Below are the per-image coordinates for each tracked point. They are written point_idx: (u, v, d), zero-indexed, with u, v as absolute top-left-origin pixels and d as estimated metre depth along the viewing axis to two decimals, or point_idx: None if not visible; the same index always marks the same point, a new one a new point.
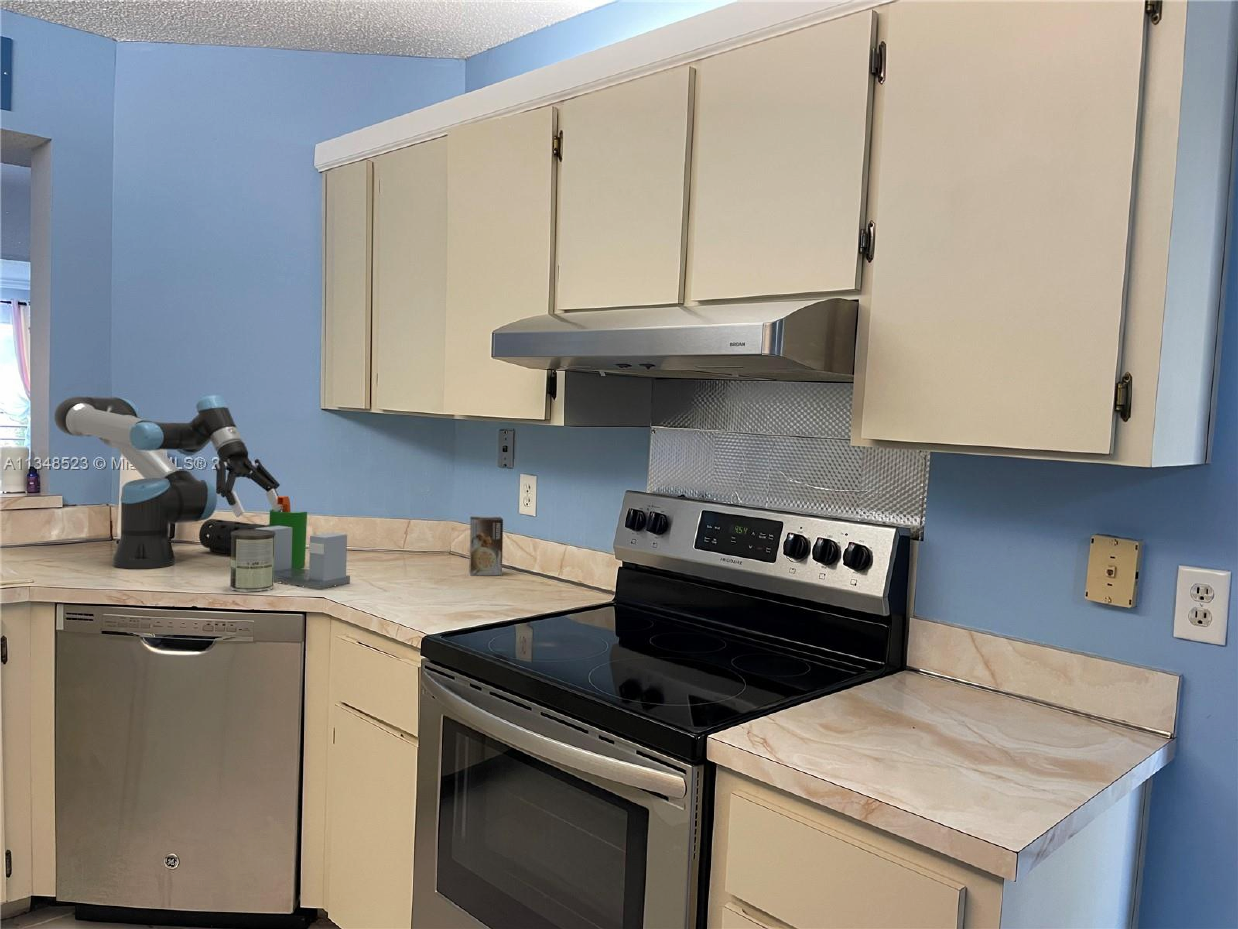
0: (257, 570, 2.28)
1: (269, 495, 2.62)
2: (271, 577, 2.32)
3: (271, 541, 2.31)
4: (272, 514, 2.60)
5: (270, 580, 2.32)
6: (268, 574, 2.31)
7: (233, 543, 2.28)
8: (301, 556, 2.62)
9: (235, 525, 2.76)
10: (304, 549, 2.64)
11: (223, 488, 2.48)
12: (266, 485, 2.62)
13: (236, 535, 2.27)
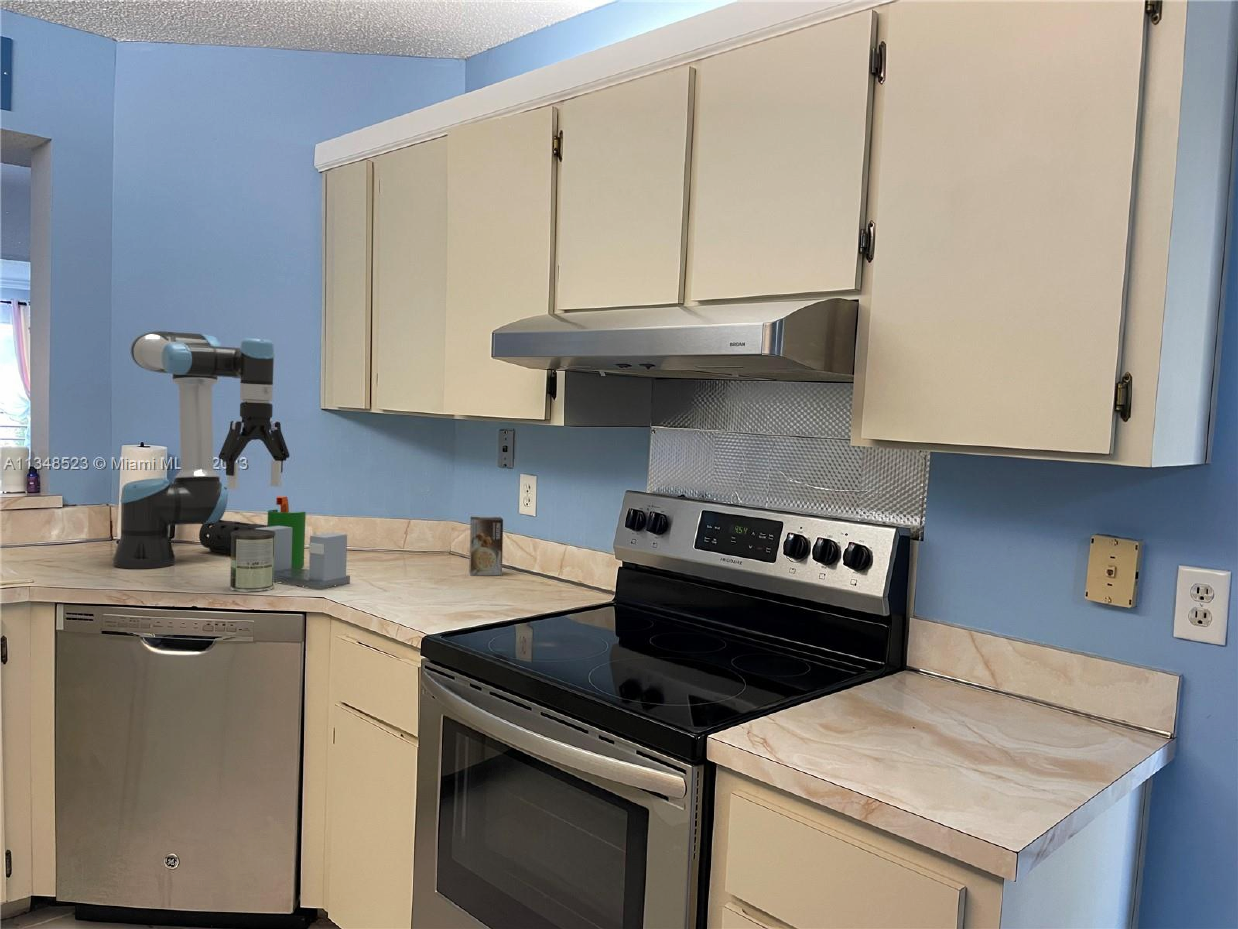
0: (257, 570, 2.28)
1: (273, 465, 2.37)
2: (271, 577, 2.32)
3: (271, 541, 2.31)
4: (271, 514, 2.59)
5: (270, 580, 2.32)
6: (268, 574, 2.31)
7: (233, 543, 2.28)
8: (300, 556, 2.63)
9: (235, 525, 2.76)
10: (303, 549, 2.64)
11: (227, 458, 2.22)
12: (275, 454, 2.36)
13: (236, 535, 2.27)
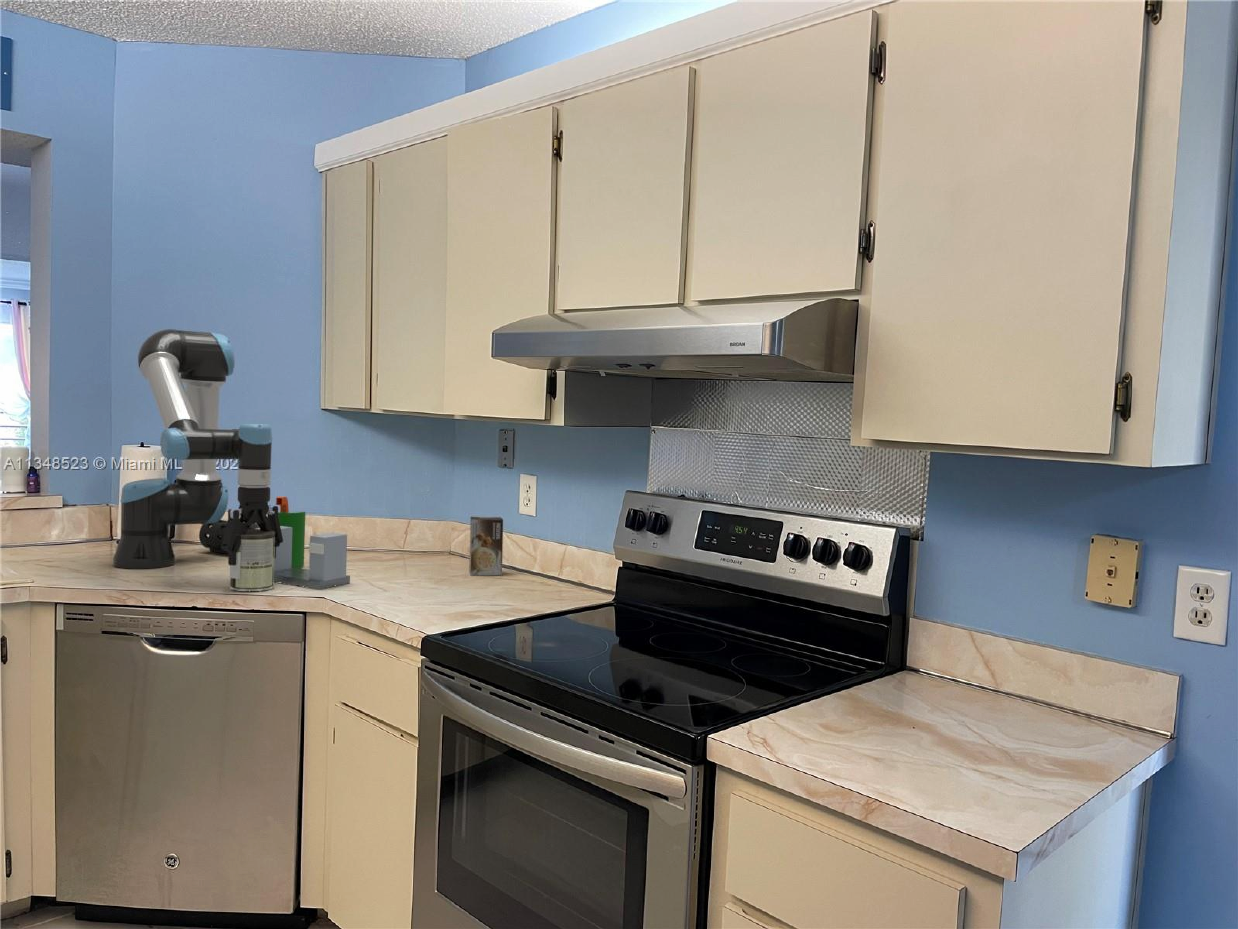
0: (257, 570, 2.28)
1: None
2: (271, 577, 2.32)
3: (271, 541, 2.31)
4: None
5: (270, 580, 2.32)
6: (268, 574, 2.31)
7: None
8: (300, 556, 2.63)
9: None
10: (303, 549, 2.64)
11: (229, 549, 2.24)
12: None
13: (236, 535, 2.27)
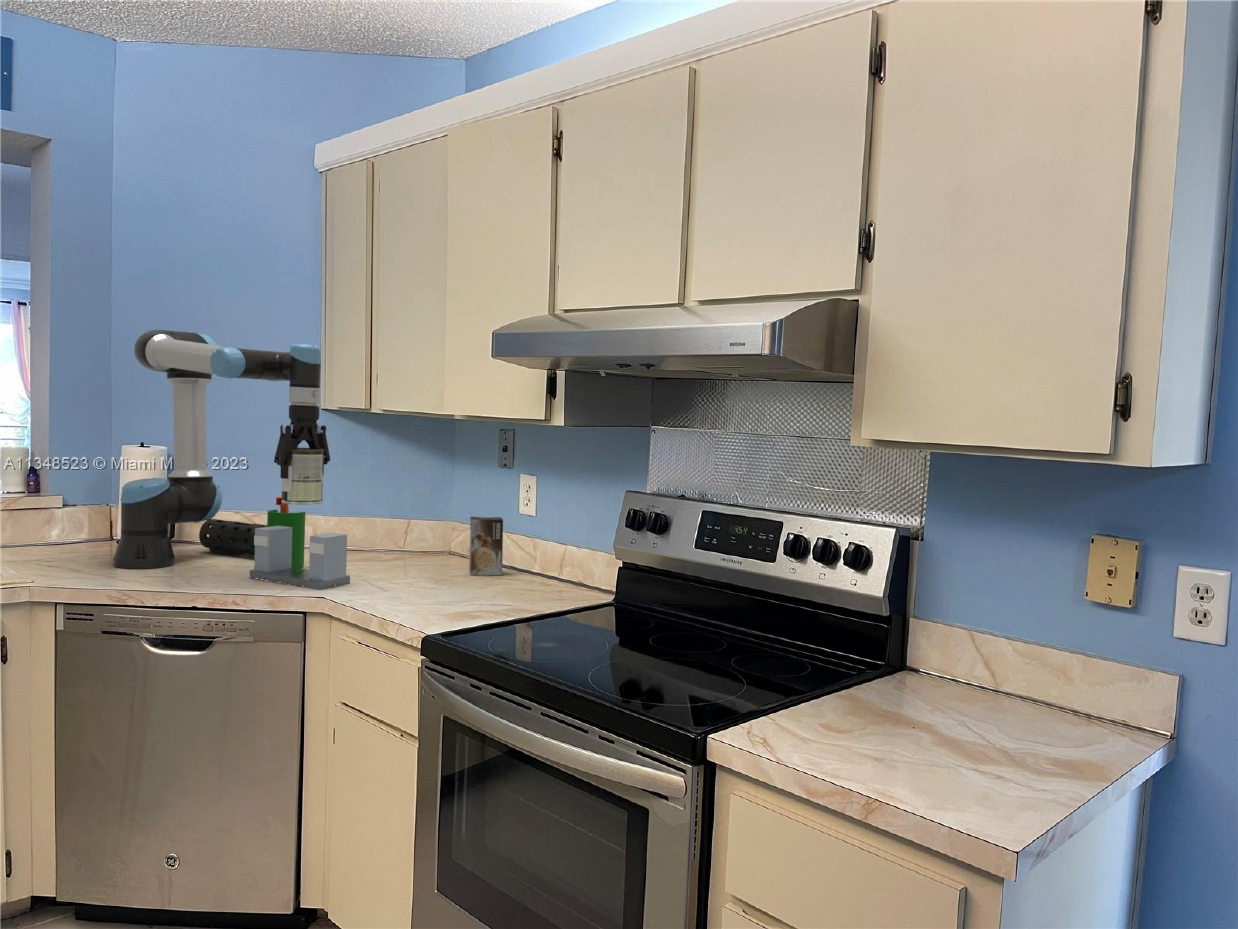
0: (308, 483, 2.39)
1: None
2: (320, 492, 2.43)
3: (321, 457, 2.42)
4: (271, 515, 2.59)
5: (319, 495, 2.42)
6: (317, 488, 2.41)
7: None
8: (300, 556, 2.63)
9: (235, 525, 2.76)
10: (303, 549, 2.64)
11: (282, 462, 2.35)
12: None
13: (288, 450, 2.38)
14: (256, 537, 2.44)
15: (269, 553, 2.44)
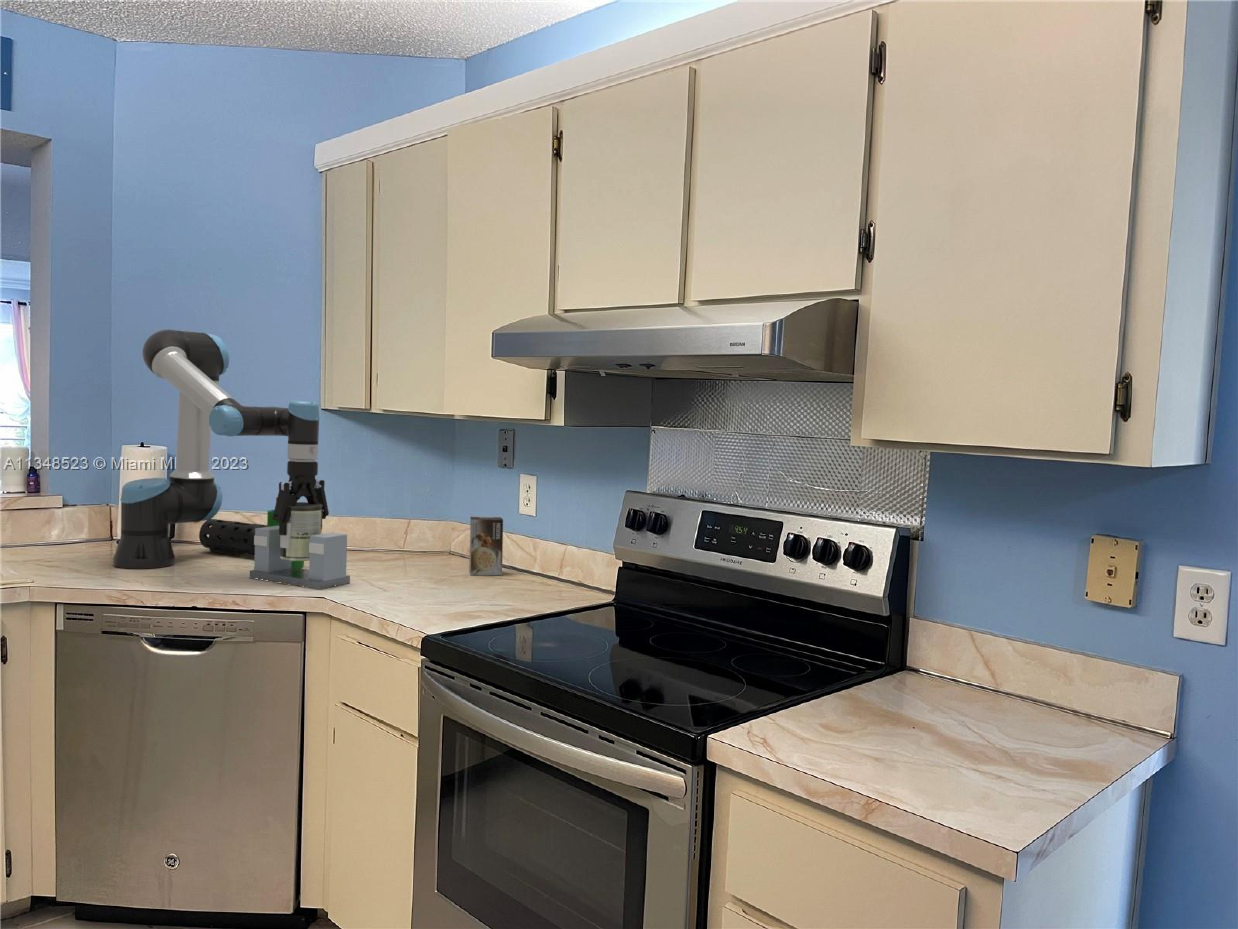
0: (306, 540, 2.40)
1: None
2: None
3: (319, 513, 2.43)
4: (271, 515, 2.59)
5: None
6: None
7: None
8: None
9: (235, 525, 2.76)
10: None
11: (281, 519, 2.35)
12: None
13: (286, 507, 2.39)
14: (256, 537, 2.44)
15: (269, 553, 2.44)
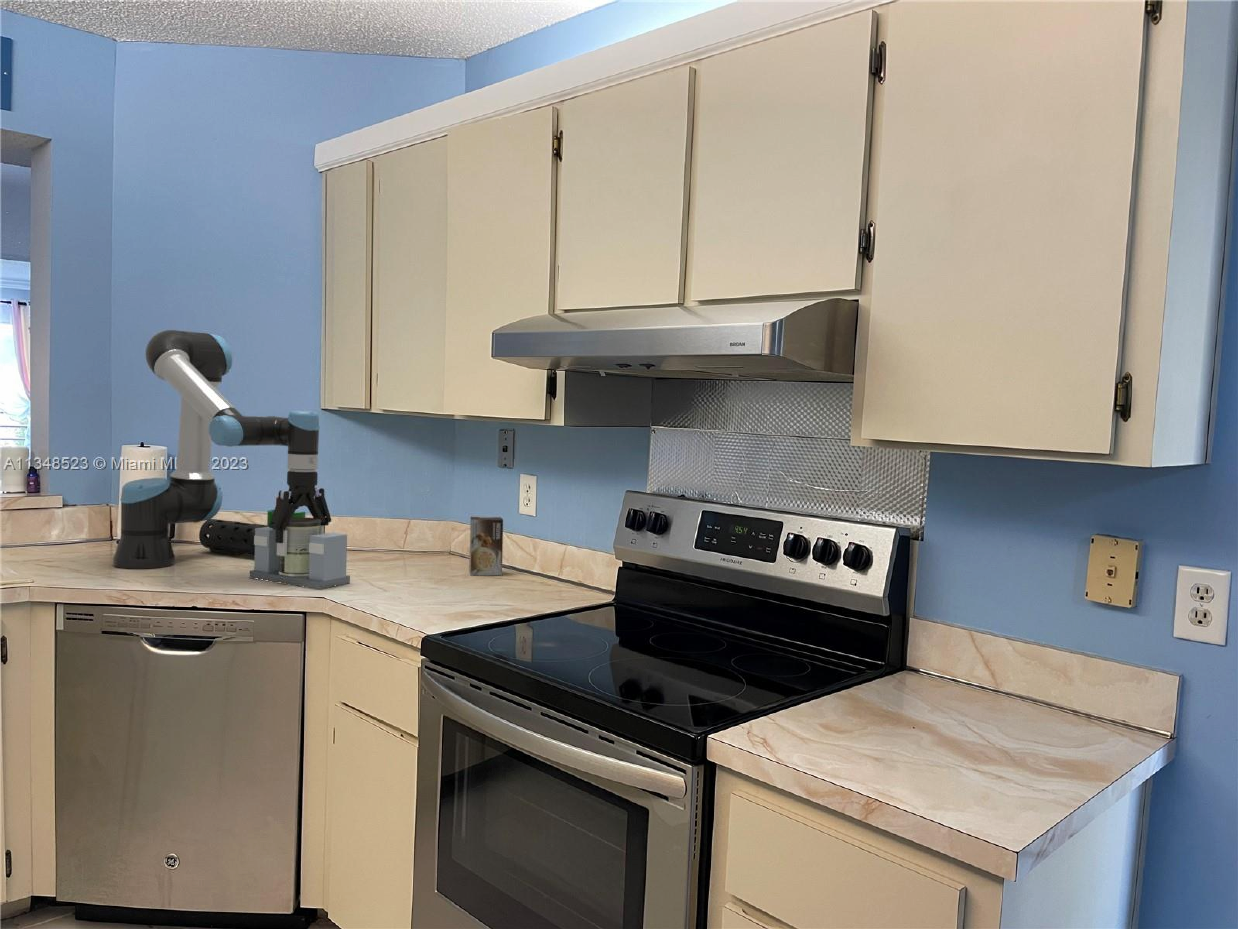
0: (305, 556, 2.40)
1: None
2: None
3: (318, 529, 2.43)
4: (271, 515, 2.59)
5: None
6: None
7: None
8: None
9: (235, 525, 2.76)
10: None
11: (277, 527, 2.35)
12: None
13: None
14: (256, 537, 2.44)
15: (269, 553, 2.44)
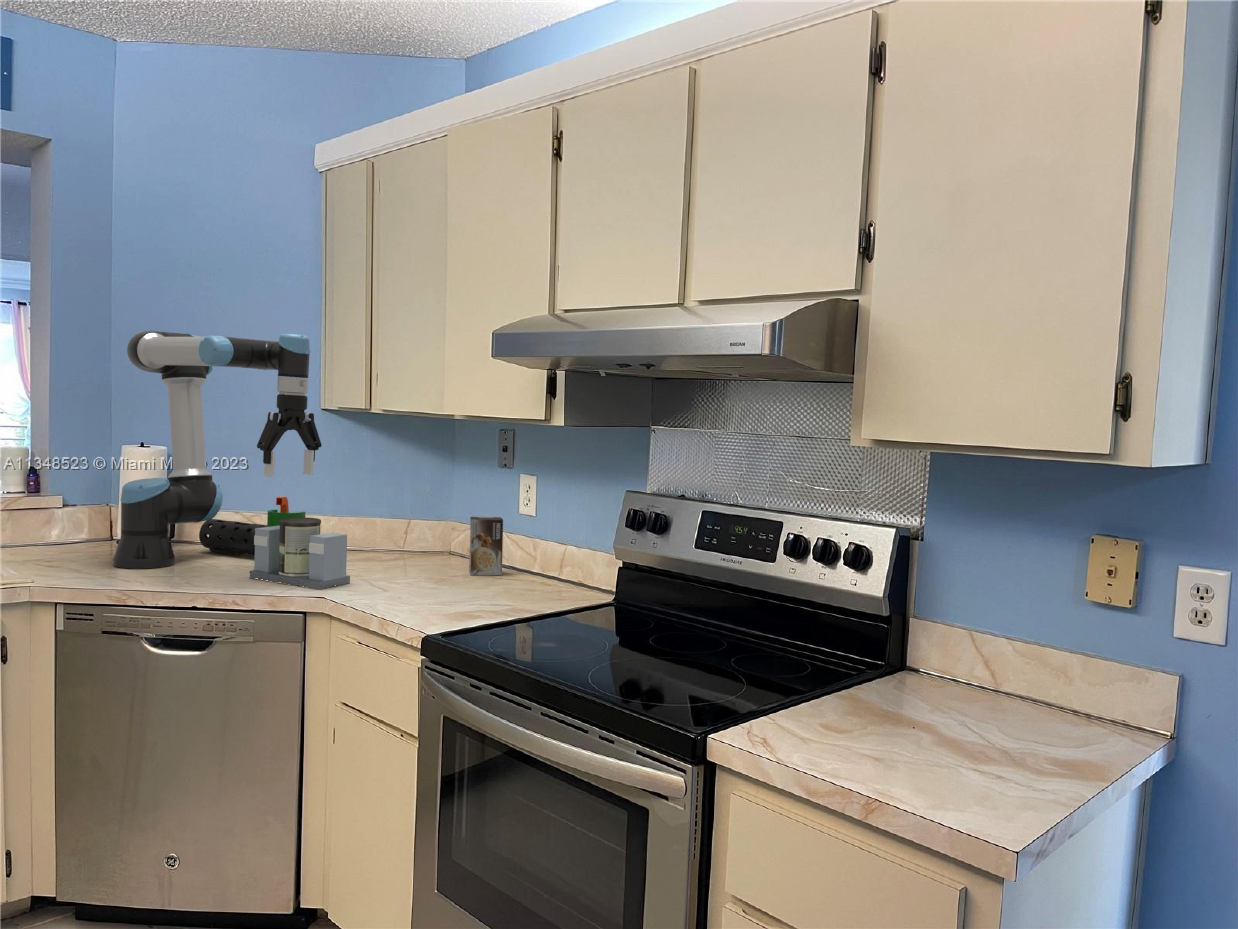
0: (305, 556, 2.40)
1: (306, 454, 2.49)
2: None
3: (318, 529, 2.43)
4: (271, 515, 2.59)
5: None
6: None
7: (282, 530, 2.40)
8: None
9: (235, 525, 2.76)
10: None
11: (265, 447, 2.34)
12: (308, 444, 2.49)
13: (285, 522, 2.39)
14: (256, 537, 2.44)
15: (269, 553, 2.44)
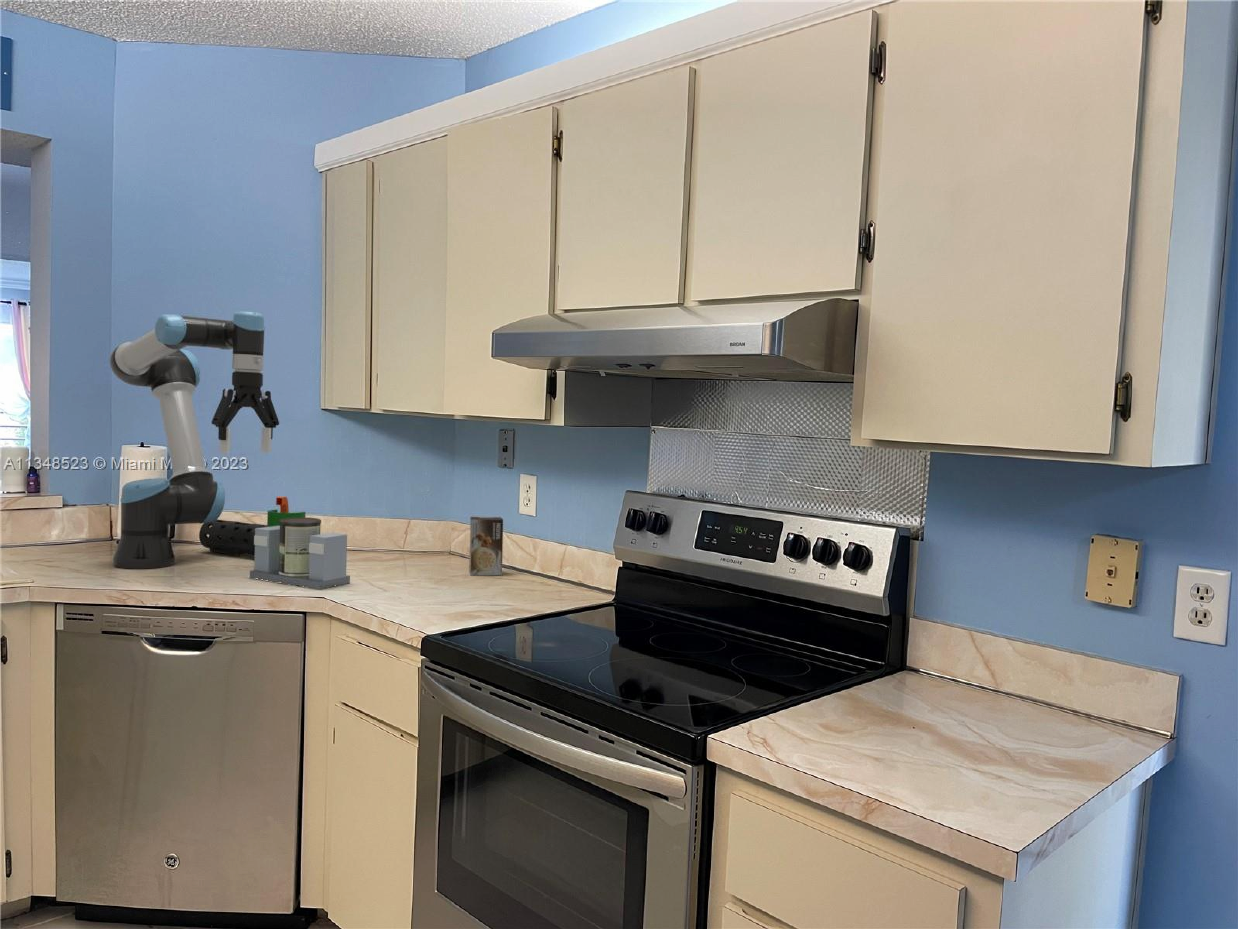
0: (305, 556, 2.40)
1: (263, 431, 2.52)
2: None
3: (318, 529, 2.43)
4: (271, 515, 2.59)
5: None
6: None
7: (282, 530, 2.40)
8: None
9: (235, 525, 2.76)
10: None
11: (219, 423, 2.36)
12: (265, 421, 2.51)
13: (285, 522, 2.39)
14: (256, 537, 2.44)
15: (269, 553, 2.44)
